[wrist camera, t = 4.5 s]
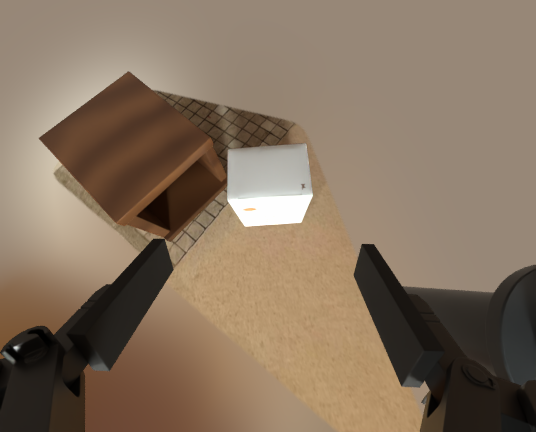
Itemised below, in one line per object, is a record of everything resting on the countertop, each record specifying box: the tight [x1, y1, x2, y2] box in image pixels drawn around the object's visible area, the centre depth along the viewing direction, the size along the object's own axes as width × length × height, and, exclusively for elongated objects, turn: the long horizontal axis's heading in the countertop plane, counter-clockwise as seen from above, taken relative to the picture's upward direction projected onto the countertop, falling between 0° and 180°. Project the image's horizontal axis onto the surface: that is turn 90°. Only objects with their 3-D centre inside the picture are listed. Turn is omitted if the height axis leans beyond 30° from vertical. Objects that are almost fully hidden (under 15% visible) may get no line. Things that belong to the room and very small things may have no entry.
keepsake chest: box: [39, 72, 228, 242], centre depth 26 cm, size 14×12×10 cm
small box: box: [227, 143, 313, 226], centre depth 24 cm, size 8×6×10 cm
